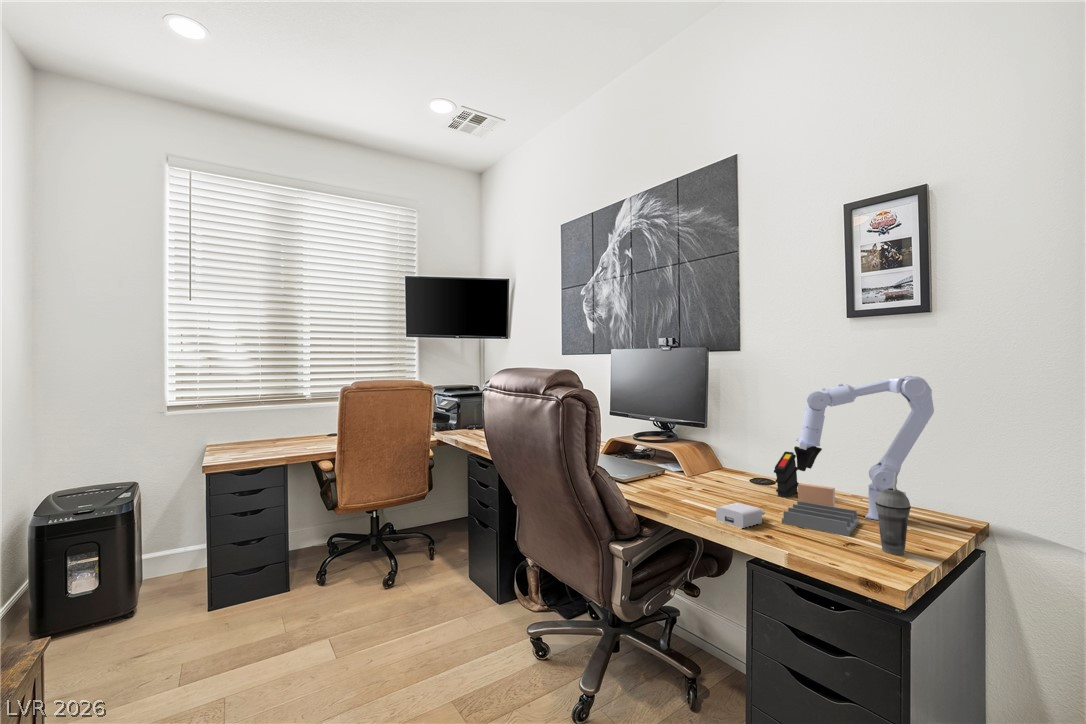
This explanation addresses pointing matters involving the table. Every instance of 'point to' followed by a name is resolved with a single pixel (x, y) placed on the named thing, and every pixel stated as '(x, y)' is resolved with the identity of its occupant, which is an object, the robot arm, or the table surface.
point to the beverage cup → (893, 519)
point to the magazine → (786, 475)
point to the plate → (816, 494)
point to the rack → (821, 518)
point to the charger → (739, 515)
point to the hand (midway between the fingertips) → (804, 469)
